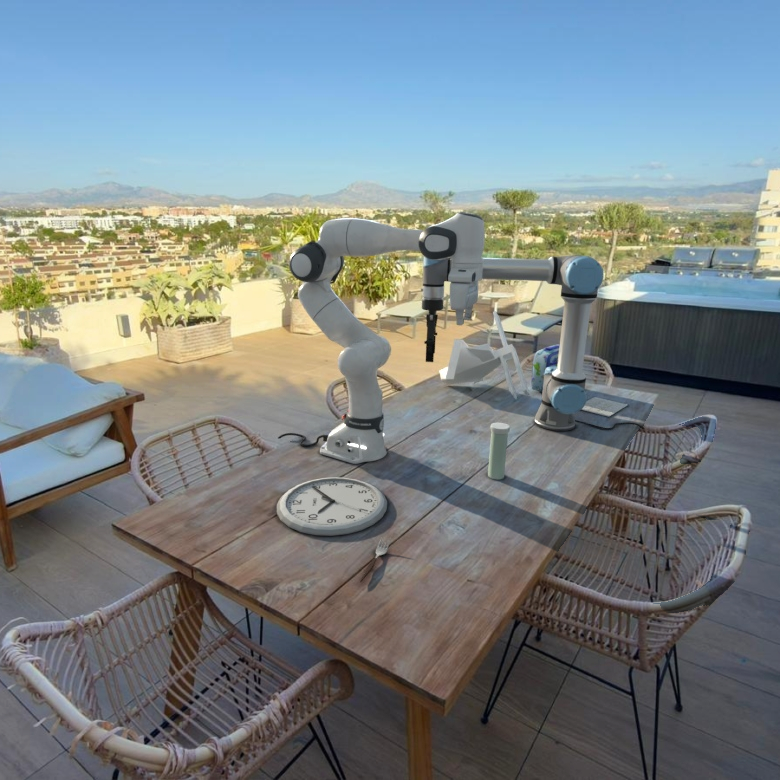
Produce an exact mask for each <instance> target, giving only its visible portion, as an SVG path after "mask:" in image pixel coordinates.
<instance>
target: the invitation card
mask: <svg viewBox="0 0 780 780" xmlns="http://www.w3.org/2000/svg"><path fill="white" fill-rule="evenodd" d="M628 406H629V404H627V403H623V402H618V401H614V400H609V399H605V398H601V397H596V396H593V397H592V398H590V399H587V401H586V404H585V406H584V407H583V408H582V409H581V410H580V411H584V412H587V413H593V414H596V415H600V416H604V417H608V418H609V417H611V416H613V415H614V414H616V413H617V412H619V411H621V410H623V409H624V408H626V407H628Z"/></svg>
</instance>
